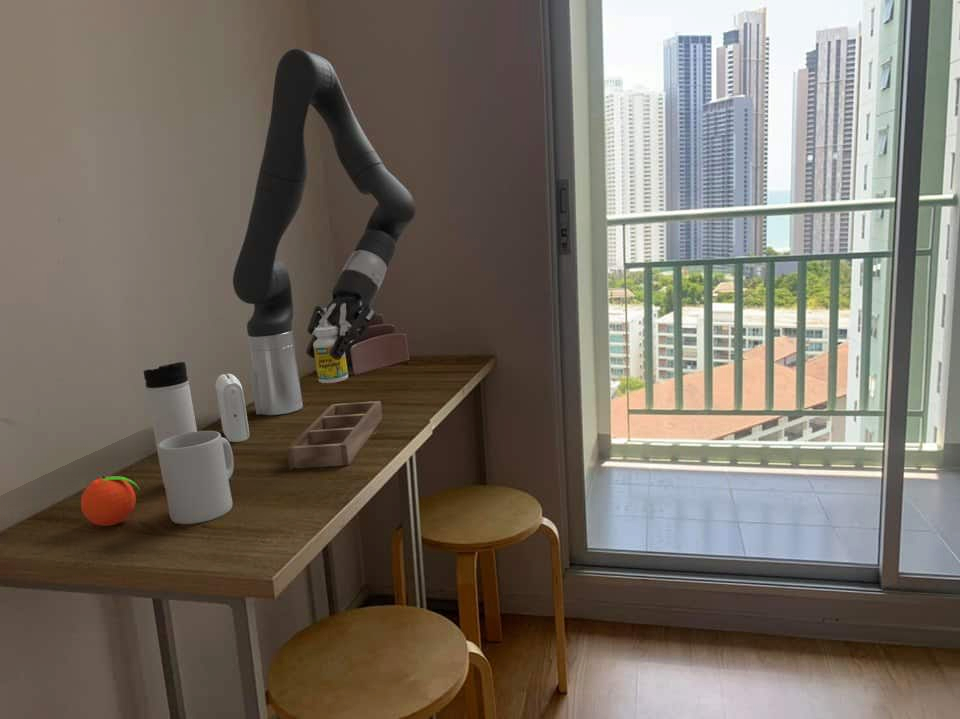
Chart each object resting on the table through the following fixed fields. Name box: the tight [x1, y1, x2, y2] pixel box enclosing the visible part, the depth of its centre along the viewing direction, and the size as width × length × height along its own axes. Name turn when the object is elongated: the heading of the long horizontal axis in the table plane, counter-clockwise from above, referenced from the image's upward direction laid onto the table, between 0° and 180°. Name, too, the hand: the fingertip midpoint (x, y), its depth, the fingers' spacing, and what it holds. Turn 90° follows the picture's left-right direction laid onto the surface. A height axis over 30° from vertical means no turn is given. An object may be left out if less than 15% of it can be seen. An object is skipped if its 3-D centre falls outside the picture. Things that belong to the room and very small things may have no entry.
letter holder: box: [328, 313, 410, 377], centre depth 201 cm, size 10×20×14 cm, turn 138°
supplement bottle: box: [313, 326, 349, 384], centre depth 132 cm, size 5×5×10 cm
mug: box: [157, 430, 235, 525], centre depth 107 cm, size 12×8×11 cm
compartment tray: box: [286, 400, 383, 470], centre depth 135 cm, size 10×28×4 cm, turn 176°
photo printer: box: [215, 373, 250, 443], centre depth 144 cm, size 10×4×12 cm, turn 27°
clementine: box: [80, 475, 141, 527], centre depth 104 cm, size 8×7×7 cm
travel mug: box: [143, 361, 198, 488], centre depth 117 cm, size 6×7×20 cm
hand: (322, 356), depth 130 cm, fingers closed on supplement bottle, 5 cm apart
